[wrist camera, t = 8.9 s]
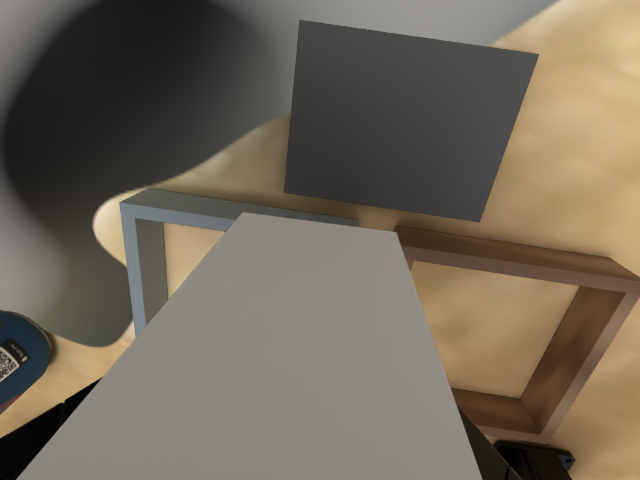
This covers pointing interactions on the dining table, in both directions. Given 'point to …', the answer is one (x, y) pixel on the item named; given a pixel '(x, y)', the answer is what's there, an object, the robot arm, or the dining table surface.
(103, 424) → the letter block
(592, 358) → the frame
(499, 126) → the dark grey flat slab
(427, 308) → the dining table surface
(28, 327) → the soda can
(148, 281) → the frame
